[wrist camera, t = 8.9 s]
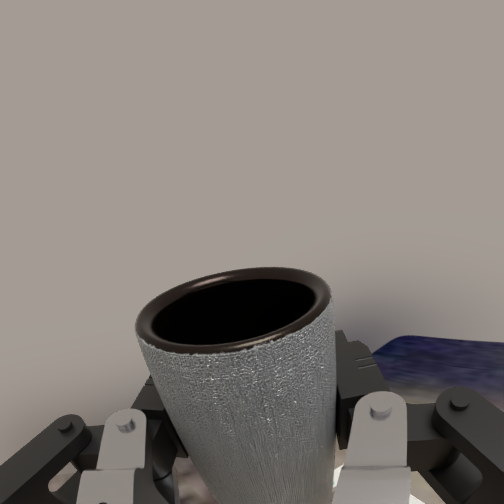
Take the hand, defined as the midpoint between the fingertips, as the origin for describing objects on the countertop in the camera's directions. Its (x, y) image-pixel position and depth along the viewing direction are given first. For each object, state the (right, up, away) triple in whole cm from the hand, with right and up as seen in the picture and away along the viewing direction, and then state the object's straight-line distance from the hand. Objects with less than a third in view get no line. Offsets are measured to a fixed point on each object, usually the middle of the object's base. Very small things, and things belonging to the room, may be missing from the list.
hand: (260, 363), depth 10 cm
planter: (+1, -7, -1) cm, 7 cm away
